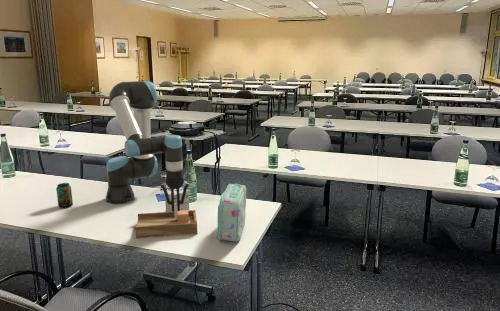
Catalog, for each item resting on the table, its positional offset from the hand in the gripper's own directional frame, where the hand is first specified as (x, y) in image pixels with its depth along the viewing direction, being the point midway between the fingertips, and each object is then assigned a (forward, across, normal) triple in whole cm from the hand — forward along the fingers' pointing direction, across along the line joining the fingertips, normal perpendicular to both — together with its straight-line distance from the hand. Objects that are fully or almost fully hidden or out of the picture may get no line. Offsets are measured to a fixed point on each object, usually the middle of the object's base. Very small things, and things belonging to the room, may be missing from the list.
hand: (176, 217), depth 187 cm
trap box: (+4, -4, -3) cm, 7 cm away
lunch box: (+4, +25, -12) cm, 28 cm away
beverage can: (+4, -57, +34) cm, 67 cm away
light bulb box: (+4, +1, +18) cm, 19 cm away
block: (+2, +3, 0) cm, 4 cm away
